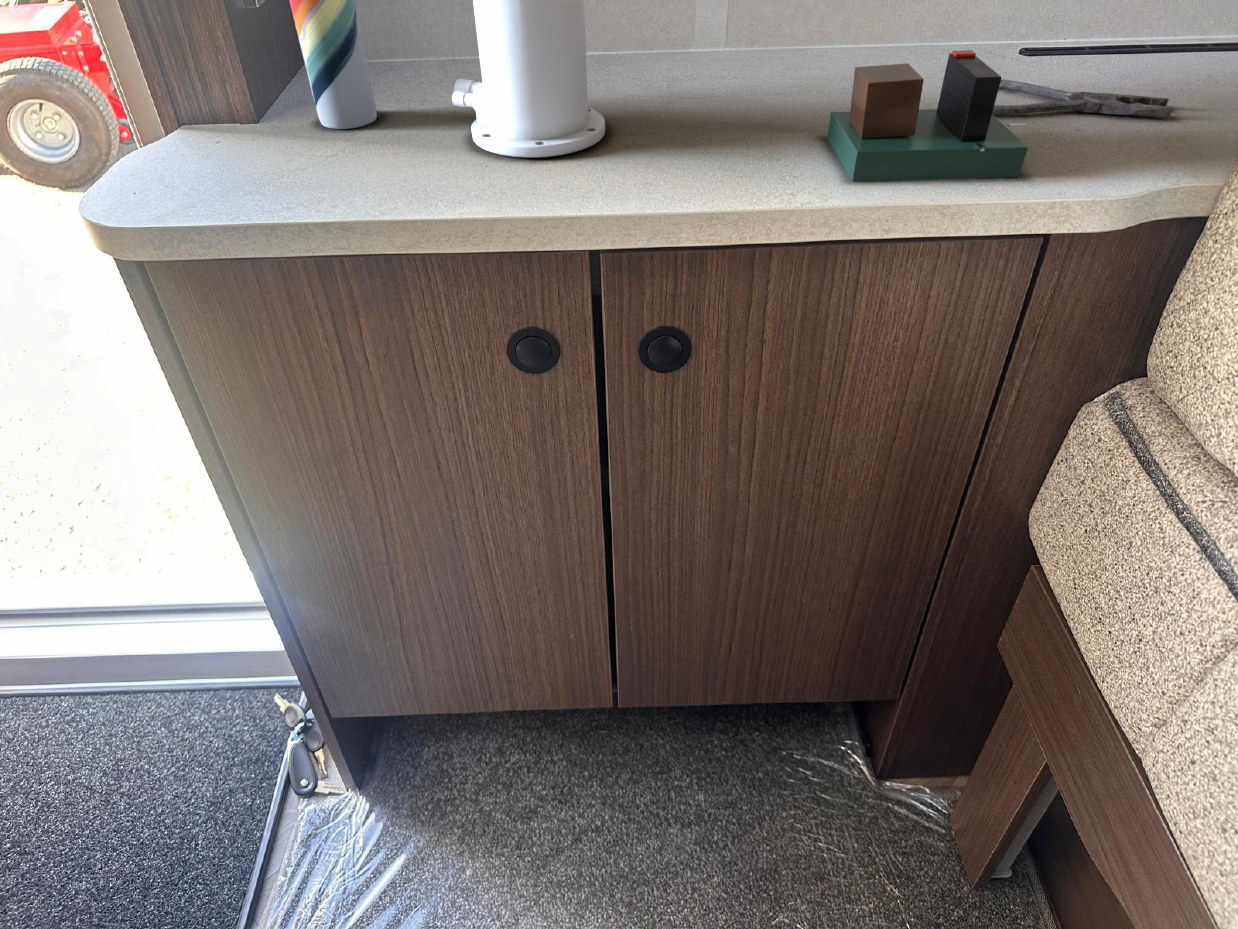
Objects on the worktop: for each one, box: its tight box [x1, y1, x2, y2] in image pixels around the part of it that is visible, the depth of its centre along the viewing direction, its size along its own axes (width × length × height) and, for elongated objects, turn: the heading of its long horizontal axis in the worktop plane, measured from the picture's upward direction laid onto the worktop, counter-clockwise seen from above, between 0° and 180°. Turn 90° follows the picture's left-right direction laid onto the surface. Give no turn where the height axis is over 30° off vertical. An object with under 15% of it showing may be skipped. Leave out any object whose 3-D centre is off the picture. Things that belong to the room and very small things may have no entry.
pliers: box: [992, 78, 1174, 118], centre depth 84 cm, size 10×1×20 cm
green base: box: [826, 105, 1029, 182], centre depth 72 cm, size 16×11×3 cm
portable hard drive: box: [936, 49, 1002, 141], centre depth 70 cm, size 7×2×5 cm, turn 1°
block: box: [849, 62, 925, 139], centre depth 70 cm, size 4×4×4 cm
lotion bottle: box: [289, 0, 378, 130], centre depth 77 cm, size 6×6×20 cm
